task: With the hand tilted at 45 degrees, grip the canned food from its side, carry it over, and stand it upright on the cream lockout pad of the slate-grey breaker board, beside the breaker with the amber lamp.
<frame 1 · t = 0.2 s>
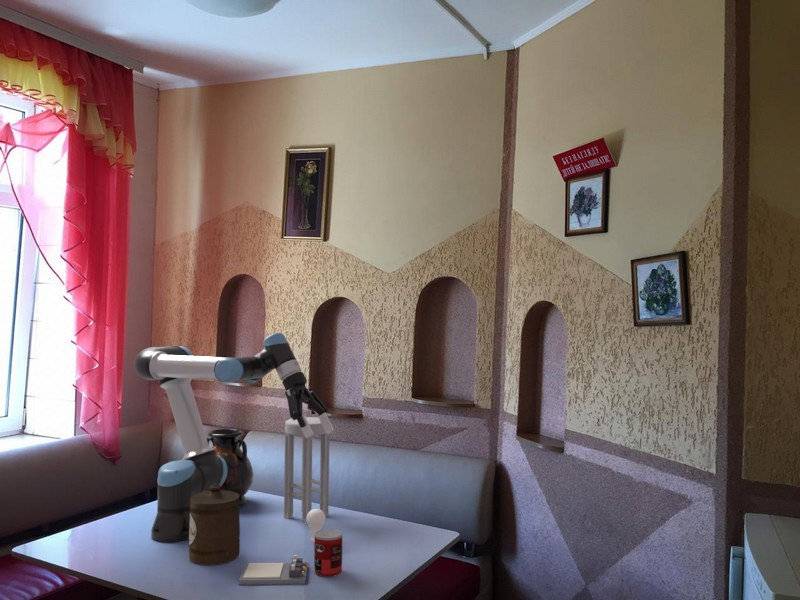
hand: (320, 434, 210), 36 cm above the table, tool tilted 35°, fingers open, 13 cm apart
lightbulb: (315, 543, 212), on the table
wooden container: (214, 557, 200), on the table
breaker board: (274, 575, 186), on the table
canned food: (328, 572, 189), on the table
amphora vase: (224, 505, 252), on the table
stool: (306, 517, 238), on the table
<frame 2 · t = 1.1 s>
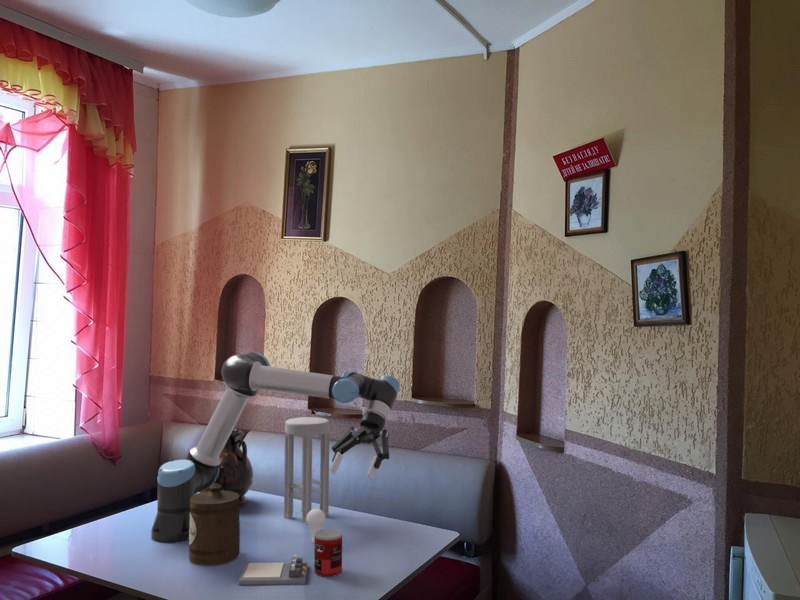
hand: (350, 474, 200), 25 cm above the table, tool tilted 45°, fingers open, 13 cm apart
nothing on the table moved.
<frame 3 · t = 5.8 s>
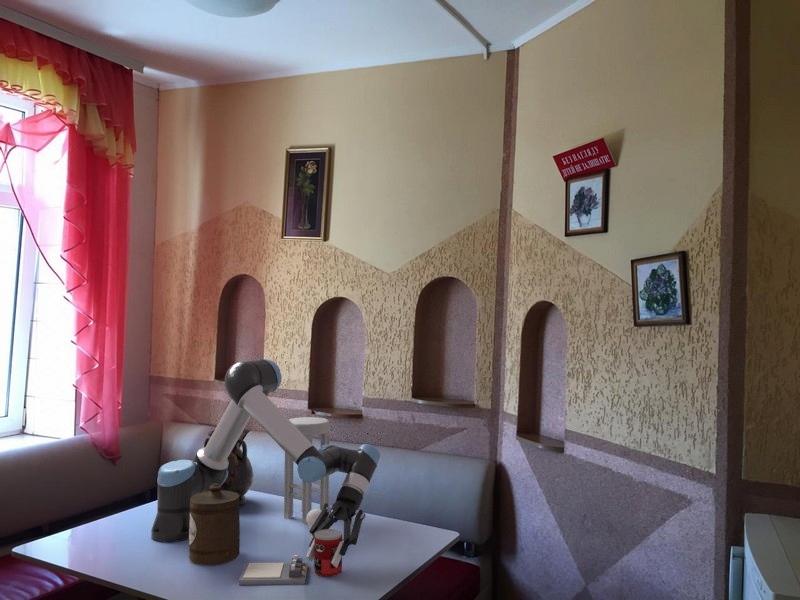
hand: (321, 562, 186), 4 cm above the table, tool tilted 45°, fingers closed on canned food, 8 cm apart
canned food: (328, 572, 189), on the table, touching gripper
everything else where it was.
when the fingers open (6 cm above the table, at t = 11.3 s): canned food stays where it is, resting on breaker board.
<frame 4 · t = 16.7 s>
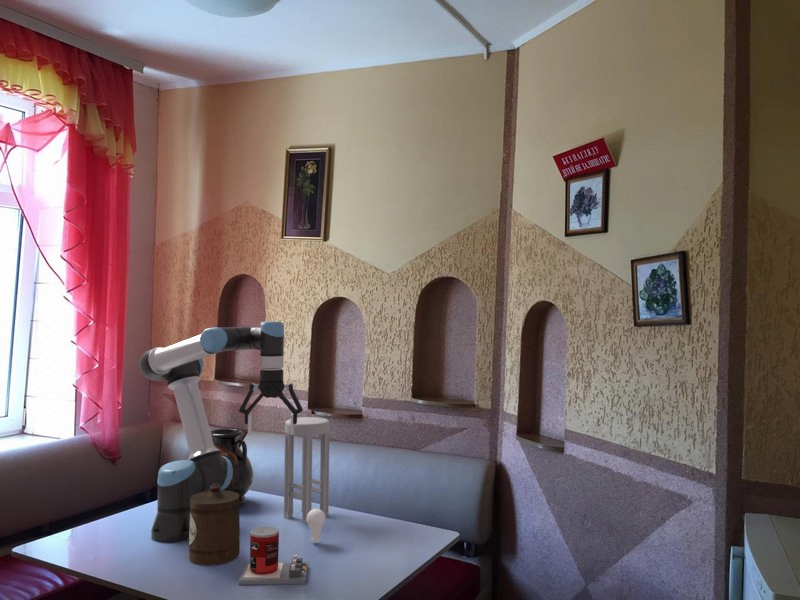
hand: (270, 434, 213), 35 cm above the table, tool pointing down, fingers open, 13 cm apart
canned food: (264, 570, 186), point 1 cm above the table, touching breaker board
everything else where it was.
at the end: canned food inside the target area on the breaker board (0.1 cm from its centre), point 1.4 cm above the breaker board's base; canned food tilted 0°; the gripper is holding nothing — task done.
